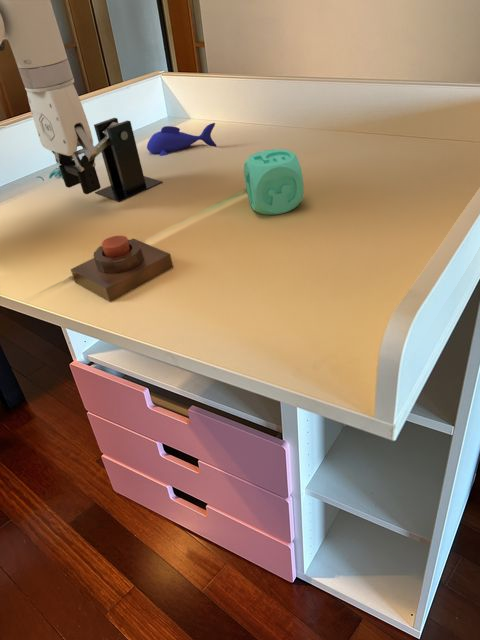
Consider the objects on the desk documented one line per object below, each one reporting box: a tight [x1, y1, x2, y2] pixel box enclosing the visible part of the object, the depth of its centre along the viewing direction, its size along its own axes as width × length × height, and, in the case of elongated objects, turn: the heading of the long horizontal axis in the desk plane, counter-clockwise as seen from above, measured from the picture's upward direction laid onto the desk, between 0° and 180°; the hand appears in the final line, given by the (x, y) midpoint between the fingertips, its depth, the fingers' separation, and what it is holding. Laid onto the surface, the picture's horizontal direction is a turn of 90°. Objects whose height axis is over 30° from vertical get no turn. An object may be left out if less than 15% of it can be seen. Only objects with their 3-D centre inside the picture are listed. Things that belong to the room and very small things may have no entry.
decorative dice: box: [243, 148, 305, 216], centre depth 92 cm, size 8×8×8 cm
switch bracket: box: [93, 117, 164, 203], centre depth 102 cm, size 10×8×13 cm
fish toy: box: [146, 122, 217, 157], centre depth 118 cm, size 15×8×7 cm, turn 100°
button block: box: [70, 237, 174, 303], centre depth 80 cm, size 11×9×4 cm
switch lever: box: [64, 122, 119, 176], centre depth 97 cm, size 12×5×2 cm, turn 137°
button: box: [101, 235, 130, 258], centre depth 78 cm, size 4×4×2 cm
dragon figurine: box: [35, 167, 63, 182], centre depth 114 cm, size 7×7×8 cm
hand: (83, 186), depth 98 cm, fingers closed on switch lever, 5 cm apart
